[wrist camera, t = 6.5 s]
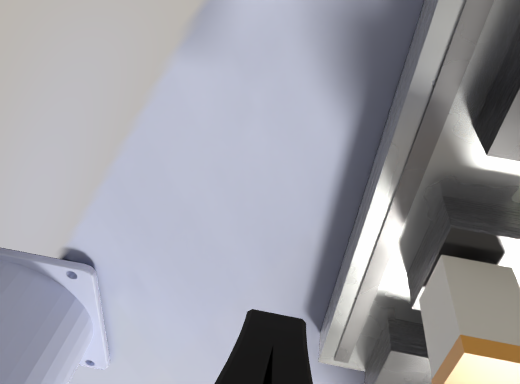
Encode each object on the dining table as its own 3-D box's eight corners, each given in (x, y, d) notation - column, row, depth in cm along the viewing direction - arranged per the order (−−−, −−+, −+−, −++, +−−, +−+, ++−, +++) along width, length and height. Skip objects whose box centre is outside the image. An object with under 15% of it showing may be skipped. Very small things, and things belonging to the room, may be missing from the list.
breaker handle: (418, 299, 14) (434, 398, 12) (440, 253, 13) (464, 352, 10) (484, 312, 14) (514, 414, 12) (513, 267, 13) (554, 370, 10)
